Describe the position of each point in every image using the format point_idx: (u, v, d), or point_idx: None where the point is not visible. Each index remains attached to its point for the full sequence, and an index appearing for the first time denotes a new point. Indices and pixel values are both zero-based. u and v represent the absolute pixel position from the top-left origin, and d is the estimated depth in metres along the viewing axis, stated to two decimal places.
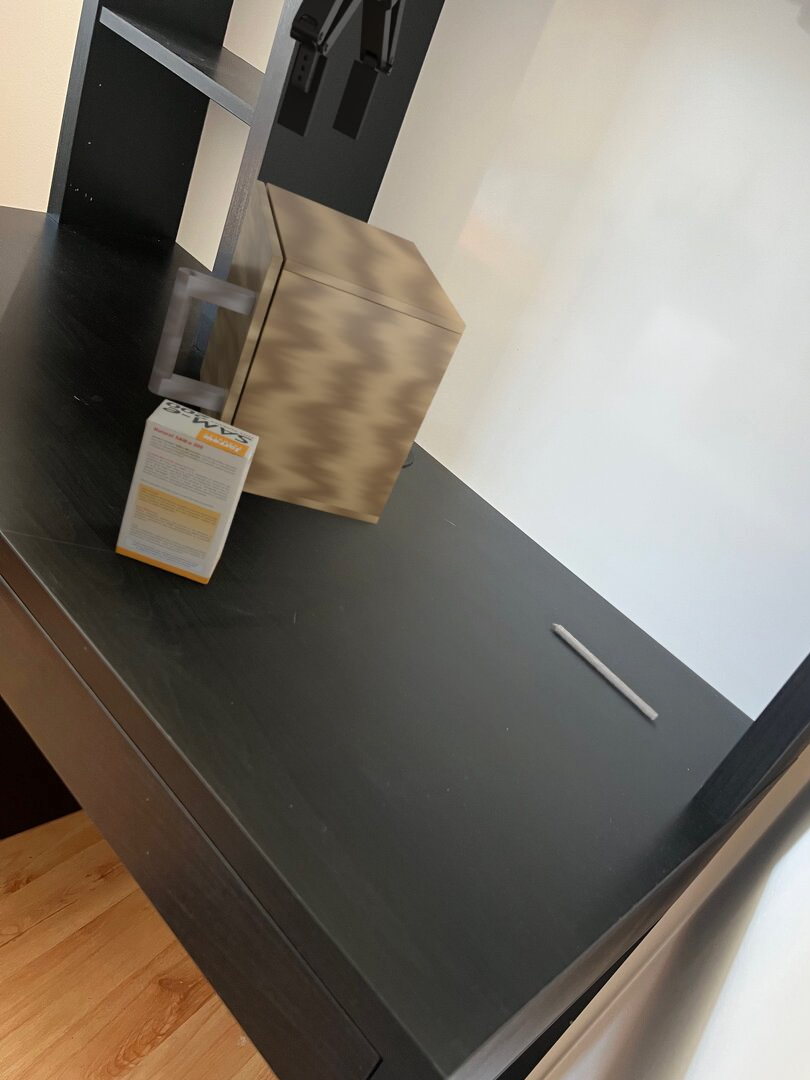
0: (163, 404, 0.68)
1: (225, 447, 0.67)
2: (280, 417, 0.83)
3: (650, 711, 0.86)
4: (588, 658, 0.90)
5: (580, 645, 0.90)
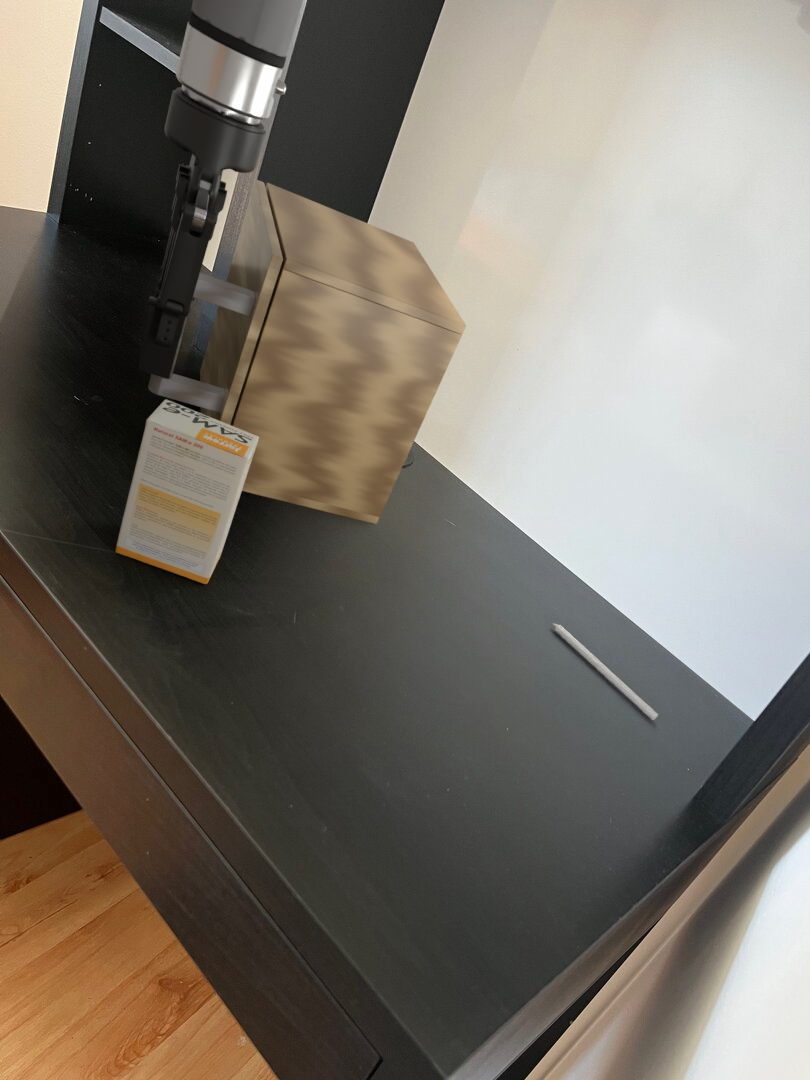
0: (163, 404, 0.68)
1: (225, 446, 0.67)
2: (280, 417, 0.83)
3: (650, 711, 0.86)
4: (588, 658, 0.90)
5: (580, 645, 0.90)
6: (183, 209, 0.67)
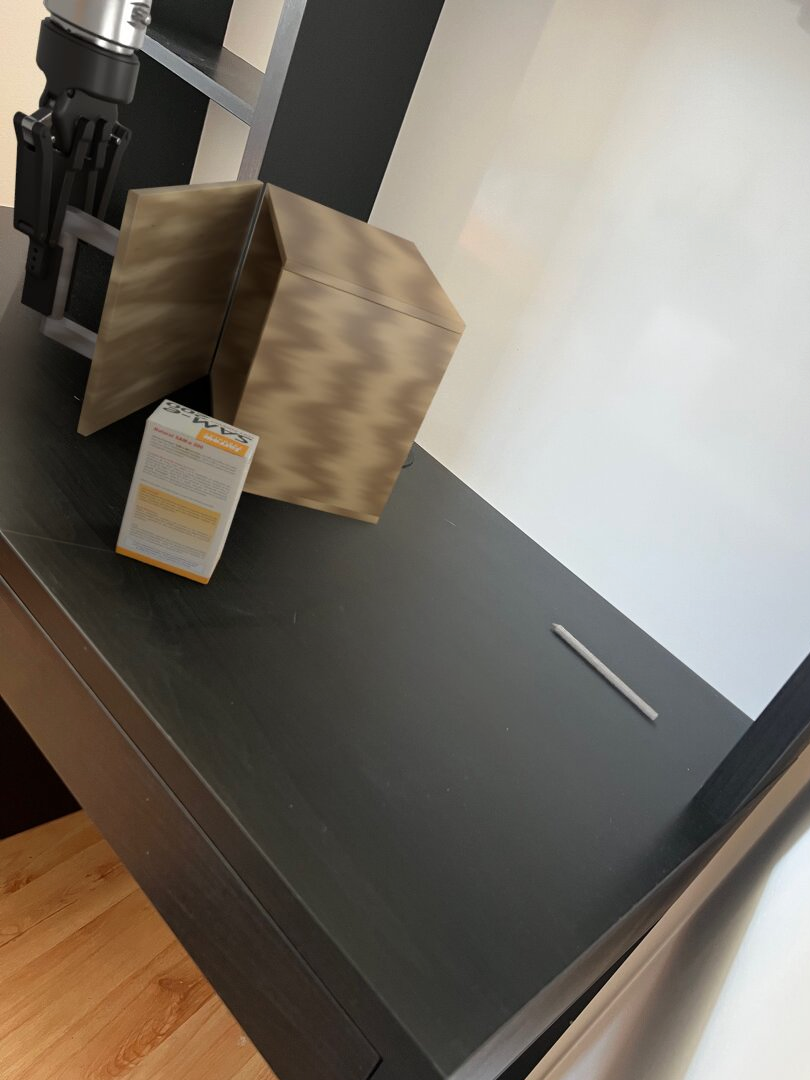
0: (163, 404, 0.68)
1: (225, 447, 0.67)
2: (280, 417, 0.83)
3: (650, 711, 0.86)
4: (588, 658, 0.90)
5: (580, 645, 0.90)
6: None
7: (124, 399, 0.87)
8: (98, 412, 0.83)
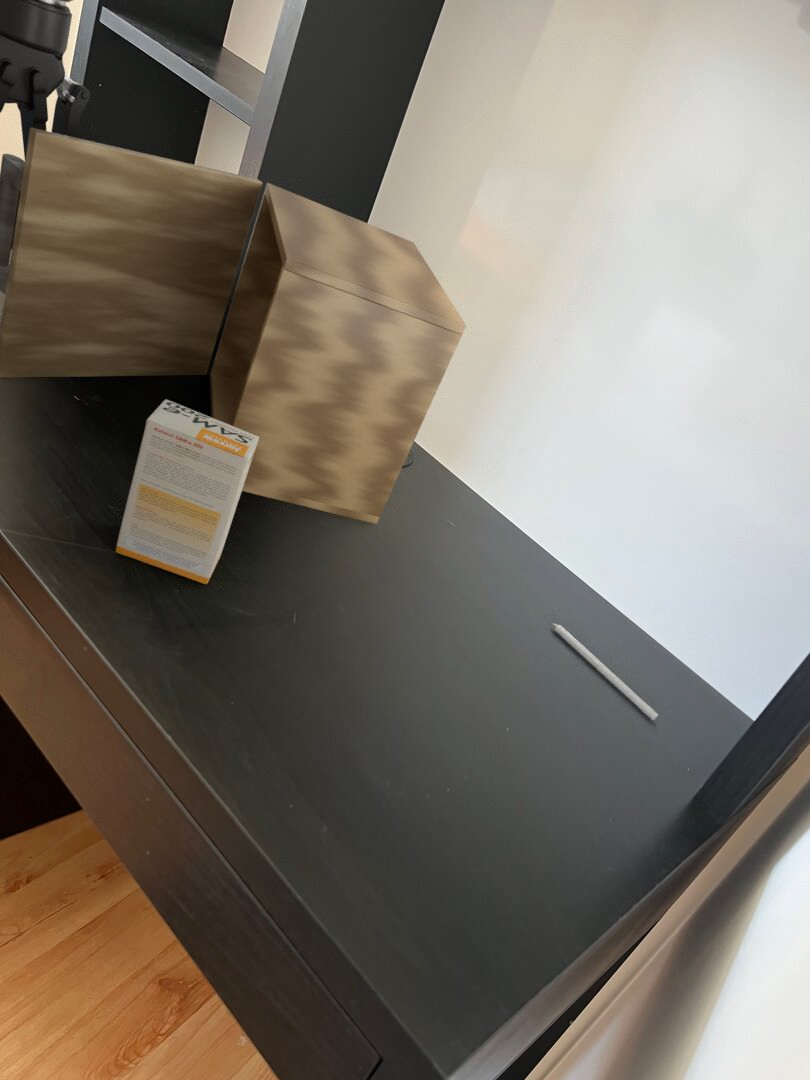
0: (163, 404, 0.68)
1: (225, 447, 0.67)
2: (280, 417, 0.83)
3: (650, 711, 0.86)
4: (588, 658, 0.90)
5: (580, 645, 0.90)
6: None
7: (59, 356, 0.88)
8: (15, 357, 0.85)
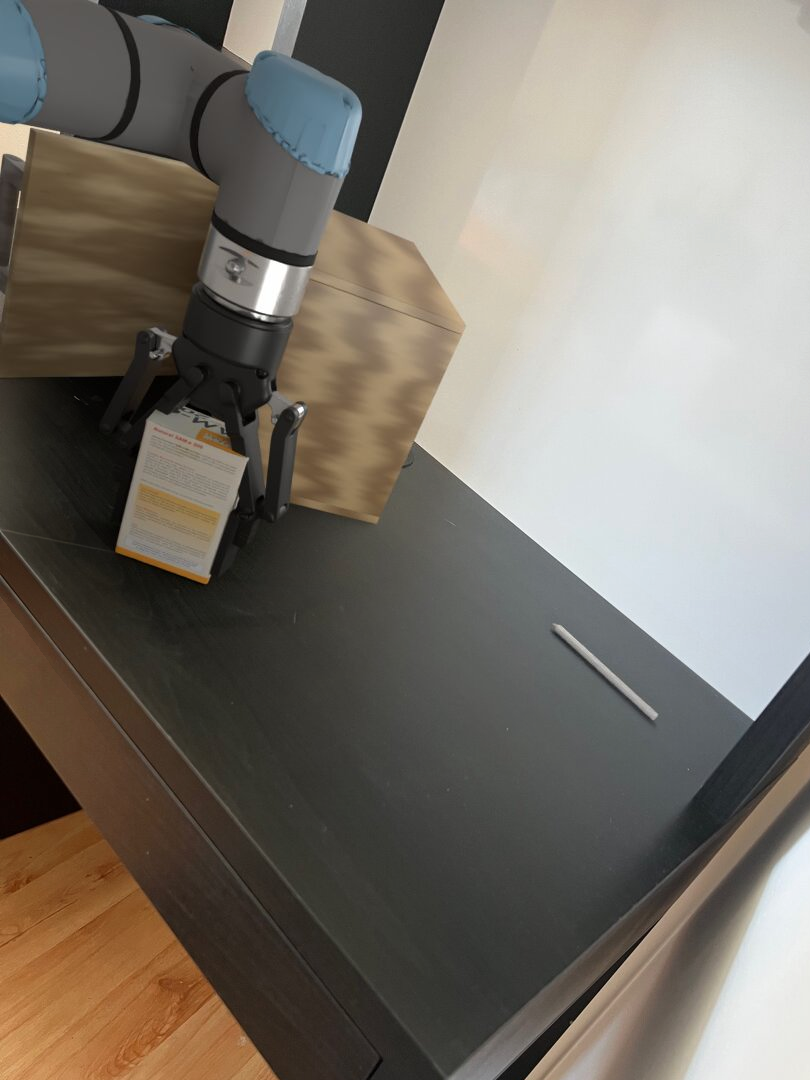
0: None
1: (225, 447, 0.67)
2: None
3: (650, 711, 0.86)
4: (588, 658, 0.90)
5: (580, 645, 0.90)
6: None
7: (59, 356, 0.88)
8: (15, 357, 0.85)
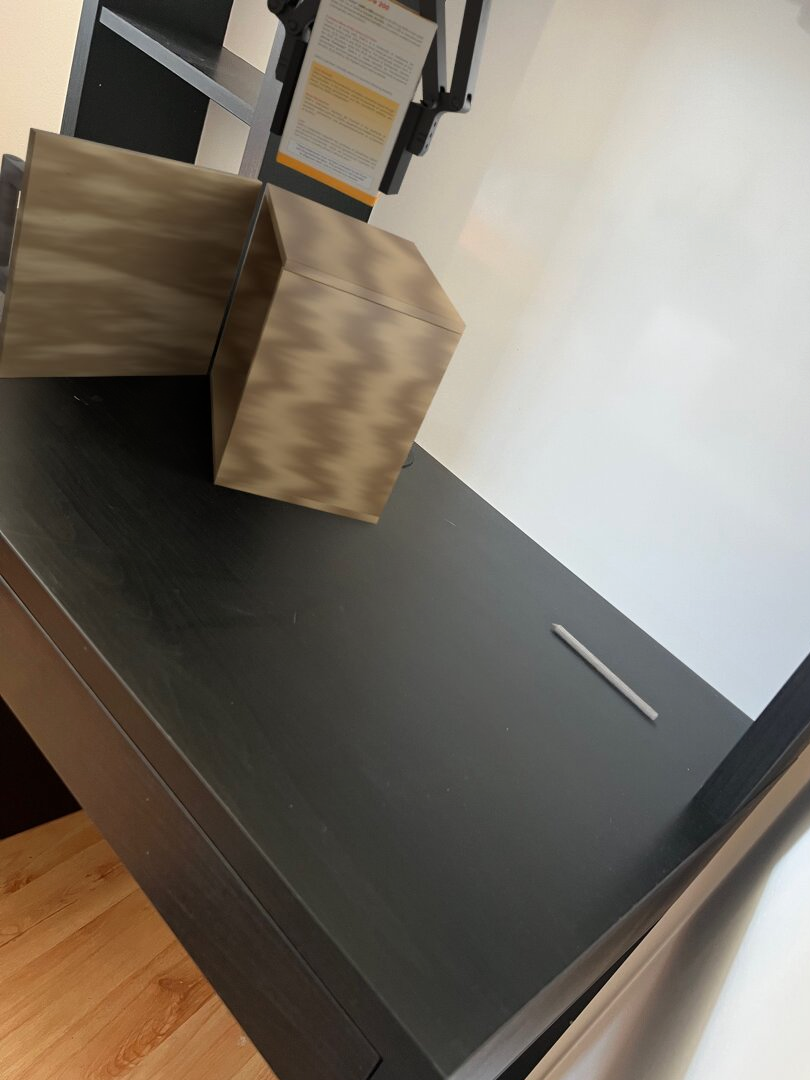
0: None
1: (412, 11, 0.60)
2: (280, 417, 0.83)
3: (650, 711, 0.86)
4: (588, 658, 0.90)
5: (580, 645, 0.90)
6: None
7: (59, 356, 0.88)
8: (15, 357, 0.85)
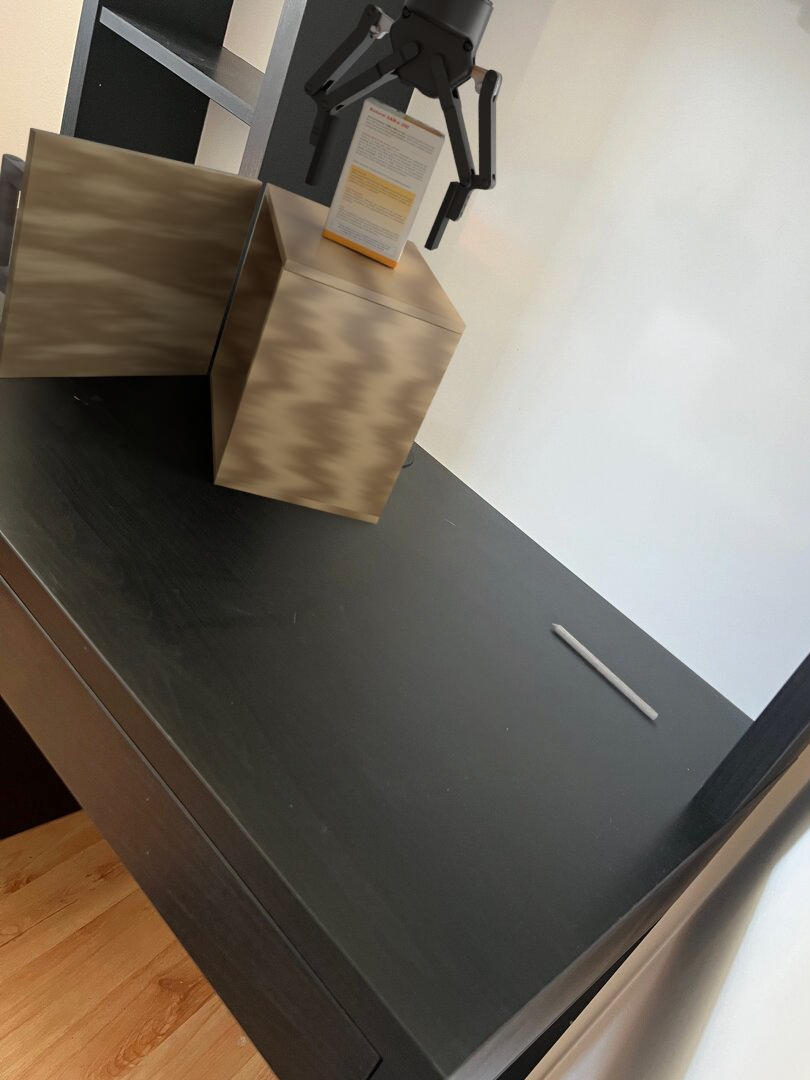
0: (371, 98, 0.81)
1: (426, 128, 0.80)
2: (280, 417, 0.83)
3: (650, 711, 0.86)
4: (588, 658, 0.90)
5: (580, 645, 0.90)
6: None
7: (59, 356, 0.88)
8: (15, 357, 0.85)
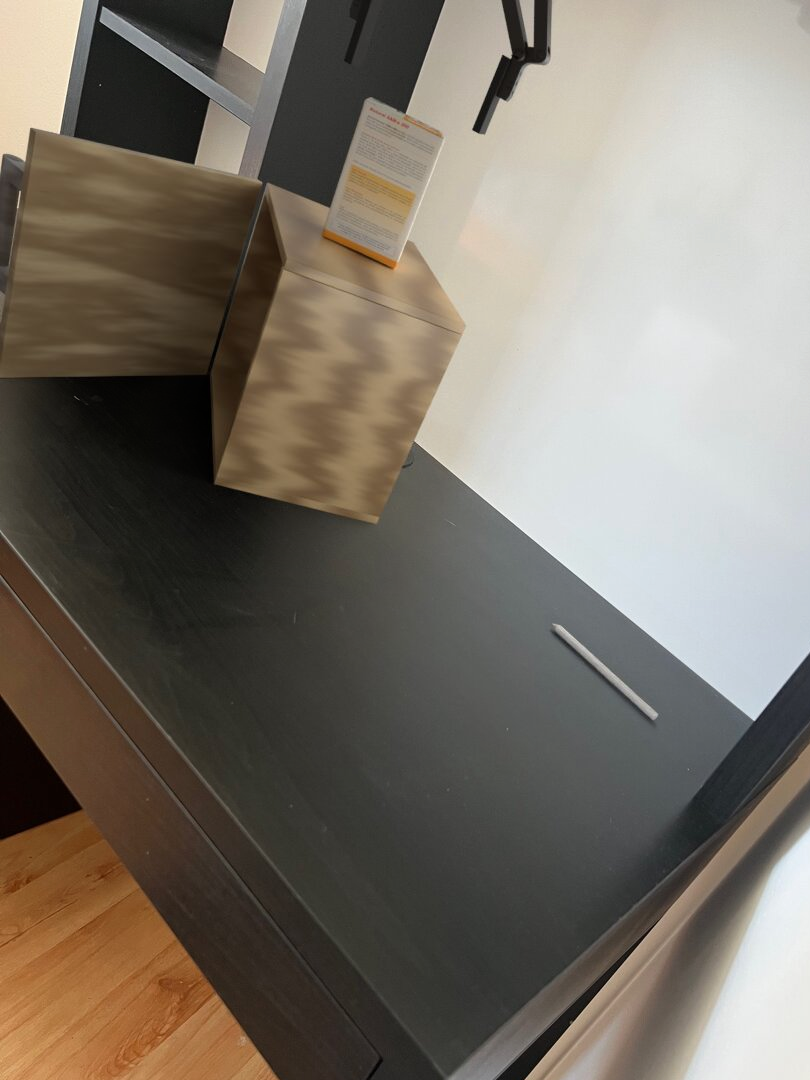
0: (371, 98, 0.81)
1: (426, 128, 0.80)
2: (280, 417, 0.83)
3: (650, 711, 0.86)
4: (588, 658, 0.90)
5: (580, 645, 0.90)
6: None
7: (59, 356, 0.88)
8: (15, 357, 0.85)
